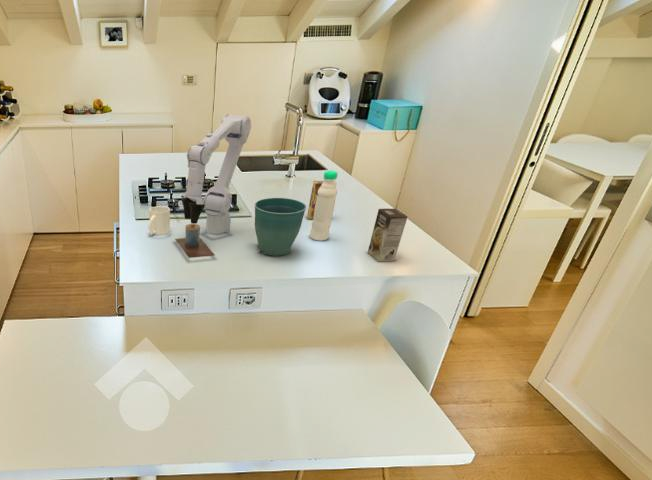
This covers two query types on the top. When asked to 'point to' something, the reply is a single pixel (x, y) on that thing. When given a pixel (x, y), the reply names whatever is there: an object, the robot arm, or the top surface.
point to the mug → (159, 220)
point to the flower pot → (277, 224)
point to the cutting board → (195, 249)
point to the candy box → (313, 198)
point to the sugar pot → (192, 234)
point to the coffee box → (387, 234)
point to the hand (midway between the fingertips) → (190, 221)
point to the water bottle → (324, 207)
